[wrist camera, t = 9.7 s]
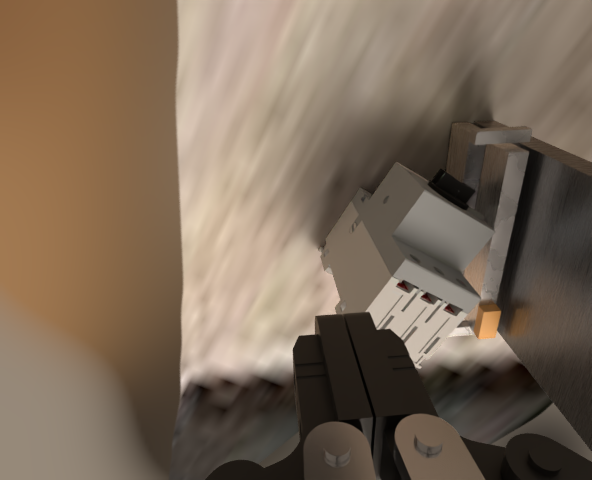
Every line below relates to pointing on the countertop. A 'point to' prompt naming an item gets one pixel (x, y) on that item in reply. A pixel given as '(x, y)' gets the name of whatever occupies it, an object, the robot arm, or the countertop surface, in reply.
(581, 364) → the din rail panel
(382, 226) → the circuit breaker
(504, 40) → the countertop surface
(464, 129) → the rail
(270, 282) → the countertop surface
